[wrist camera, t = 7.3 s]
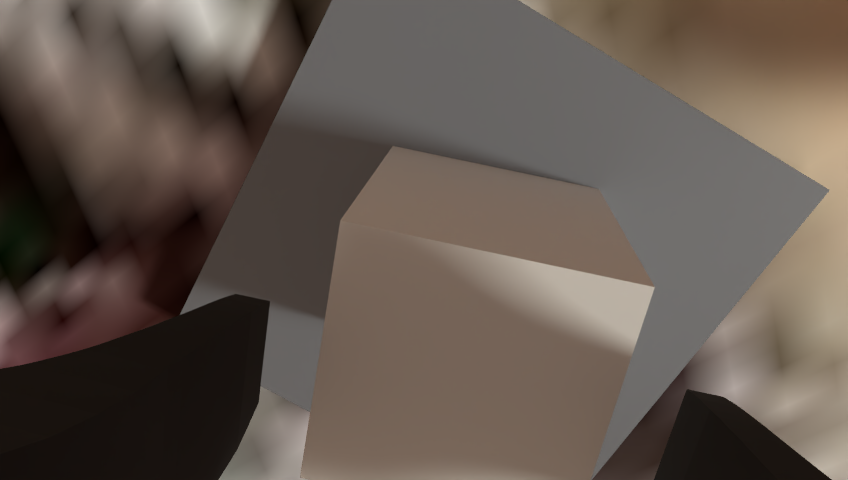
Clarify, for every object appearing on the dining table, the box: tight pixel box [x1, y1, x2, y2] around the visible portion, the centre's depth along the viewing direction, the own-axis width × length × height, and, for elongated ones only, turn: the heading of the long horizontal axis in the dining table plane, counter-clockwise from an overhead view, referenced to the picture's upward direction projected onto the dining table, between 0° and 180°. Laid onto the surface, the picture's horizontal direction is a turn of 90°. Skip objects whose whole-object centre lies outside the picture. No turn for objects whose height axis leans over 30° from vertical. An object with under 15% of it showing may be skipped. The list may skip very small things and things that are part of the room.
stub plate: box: [180, 0, 829, 480], centre depth 16 cm, size 12×12×5 cm
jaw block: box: [300, 146, 655, 480], centre depth 14 cm, size 5×5×6 cm
